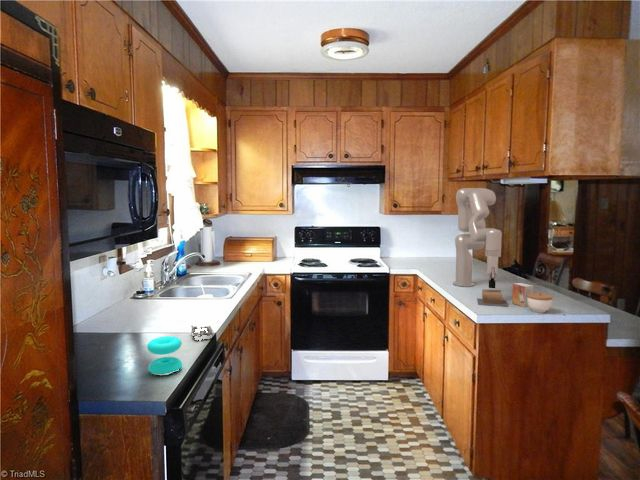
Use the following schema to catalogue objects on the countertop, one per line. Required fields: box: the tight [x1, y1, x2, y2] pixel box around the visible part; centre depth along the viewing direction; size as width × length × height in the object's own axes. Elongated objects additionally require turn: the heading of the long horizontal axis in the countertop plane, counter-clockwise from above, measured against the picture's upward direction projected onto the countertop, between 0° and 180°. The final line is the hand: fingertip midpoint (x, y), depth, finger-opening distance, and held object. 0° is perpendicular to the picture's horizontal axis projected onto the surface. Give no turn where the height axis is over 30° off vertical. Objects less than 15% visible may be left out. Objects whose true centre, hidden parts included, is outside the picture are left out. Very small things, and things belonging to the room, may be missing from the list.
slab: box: [481, 288, 504, 304], centre depth 221 cm, size 5×9×12 cm
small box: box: [511, 282, 534, 308], centre depth 215 cm, size 8×6×10 cm
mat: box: [477, 297, 509, 308], centre depth 219 cm, size 12×14×1 cm
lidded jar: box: [527, 291, 553, 314], centre depth 203 cm, size 11×11×9 cm
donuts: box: [146, 335, 183, 374], centre depth 133 cm, size 10×10×10 cm
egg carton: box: [191, 325, 214, 337], centre depth 167 cm, size 11×8×4 cm
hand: (491, 287), depth 225 cm, fingers closed
